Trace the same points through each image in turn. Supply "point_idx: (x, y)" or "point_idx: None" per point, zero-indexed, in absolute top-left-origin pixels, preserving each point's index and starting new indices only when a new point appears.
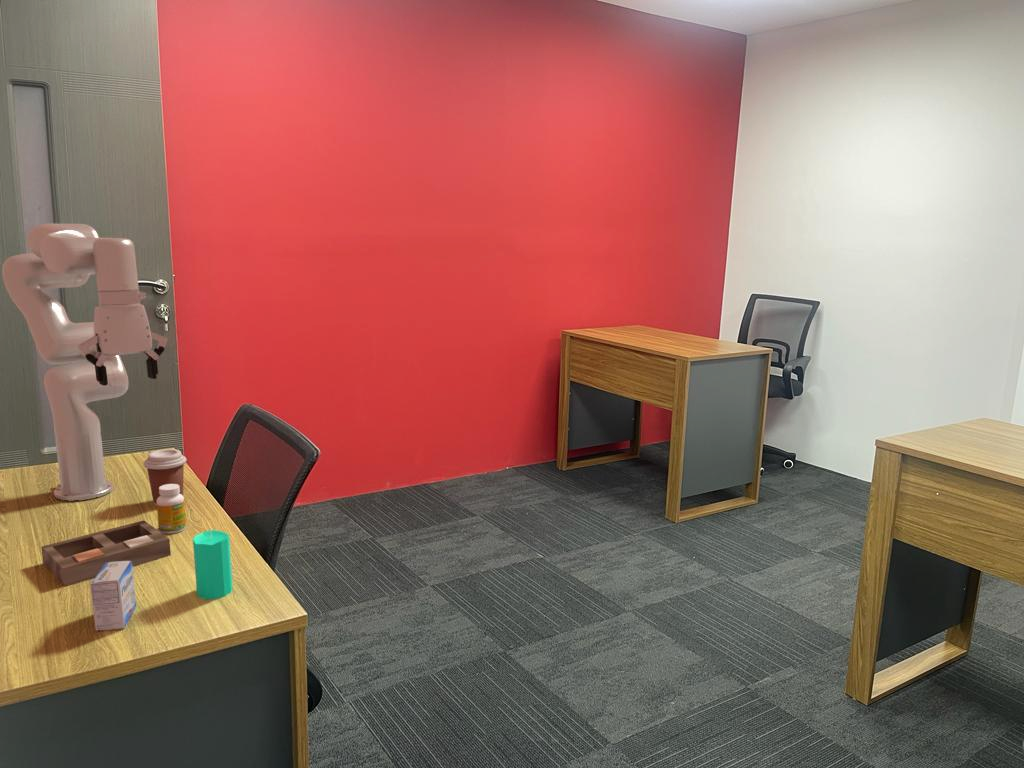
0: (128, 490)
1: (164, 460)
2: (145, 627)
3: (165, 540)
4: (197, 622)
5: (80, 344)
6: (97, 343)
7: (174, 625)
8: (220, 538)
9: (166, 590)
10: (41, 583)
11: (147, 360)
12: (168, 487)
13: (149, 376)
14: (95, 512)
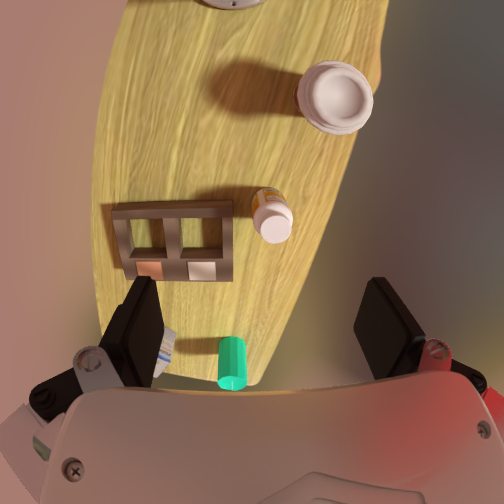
0: (290, 9)
1: (327, 123)
2: (175, 354)
3: (228, 281)
4: (204, 366)
5: (4, 454)
6: (68, 464)
7: (191, 361)
8: (238, 383)
9: (202, 325)
10: (114, 249)
11: (398, 354)
12: (273, 232)
13: (365, 300)
14: (214, 63)
